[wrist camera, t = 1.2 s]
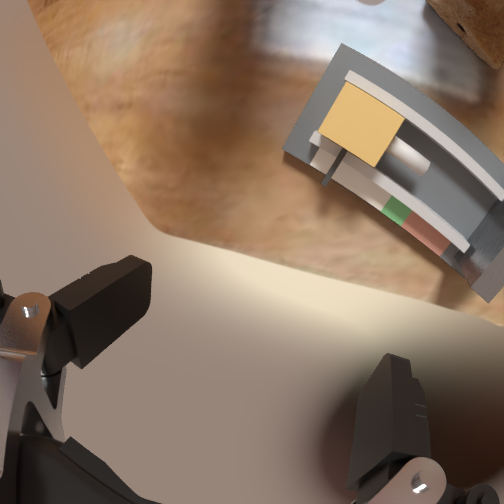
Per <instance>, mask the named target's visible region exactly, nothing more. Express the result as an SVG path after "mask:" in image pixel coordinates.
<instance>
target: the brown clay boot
mask: <svg viewBox="0 0 504 504" xmlns="http://www.w3.org/2000/svg"><path fill="white" fill-rule="evenodd" d="M426 2H427V3H428V4H430V5H431V6H432V7H433V8H434V10H435V11H436V12H437V14H438V15H439V16H440V17H441V18H442V19H443V20H444V21H445V22H446V23H447V24H448V25H449V26H450V27H451V29H452V30H453V31H454V32H455V33H456V34H458V35H459V36H460V37H461V39H462V40H463V41H464V42H465V43H466V44H467V45H468V47H469V48H470V49H472V50H473V51H474V52H475V53H476V54H477V55H478V57H480V58H481V59H482V60H483V61H485V62H486V63H487V64H488V65H489V66H490V67H491V68H493V69H495V70H497V69H499V68H500V66H501V65H502V63H503V61H504V0H426Z"/></svg>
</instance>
